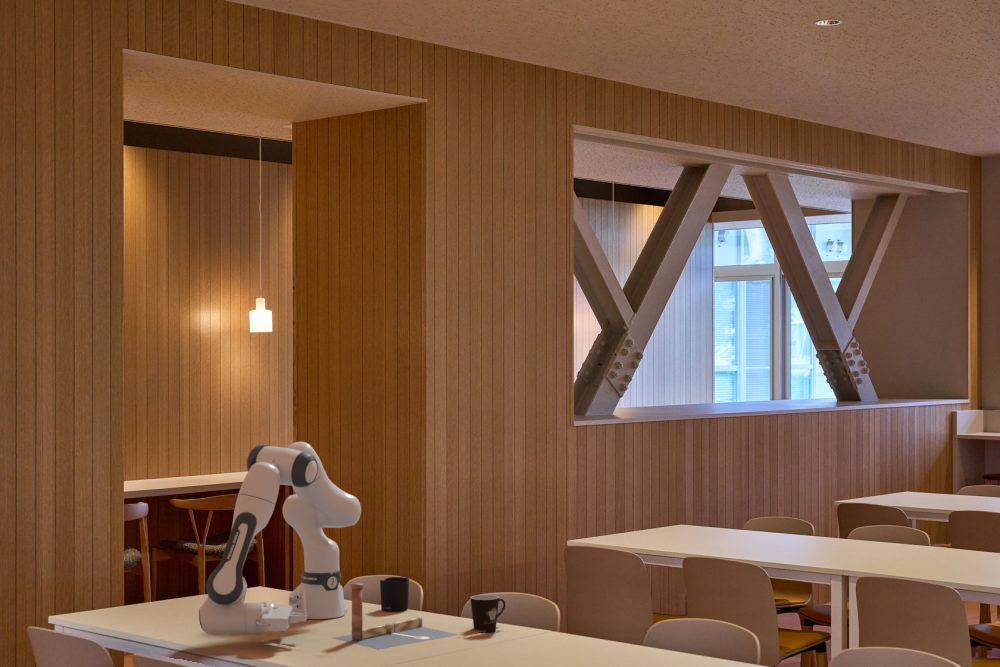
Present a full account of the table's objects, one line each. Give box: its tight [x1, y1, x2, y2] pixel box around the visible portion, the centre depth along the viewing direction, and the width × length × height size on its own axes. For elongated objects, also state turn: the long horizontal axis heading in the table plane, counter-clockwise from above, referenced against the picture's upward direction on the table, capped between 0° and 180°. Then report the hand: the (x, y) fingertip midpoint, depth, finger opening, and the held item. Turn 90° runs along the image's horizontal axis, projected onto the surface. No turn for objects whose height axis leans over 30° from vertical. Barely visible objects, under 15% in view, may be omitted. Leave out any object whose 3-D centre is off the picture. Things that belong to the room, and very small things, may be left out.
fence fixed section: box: [384, 617, 423, 634], centre depth 370 cm, size 15×3×2 cm, turn 140°
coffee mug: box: [469, 594, 506, 634], centre depth 372 cm, size 12×9×10 cm
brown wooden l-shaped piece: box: [350, 582, 386, 640], centre depth 359 cm, size 13×4×16 cm, turn 140°
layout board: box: [333, 626, 459, 650], centre depth 361 cm, size 22×29×1 cm
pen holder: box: [379, 576, 410, 613], centre depth 408 cm, size 9×9×10 cm
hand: (306, 617), depth 354 cm, fingers closed
